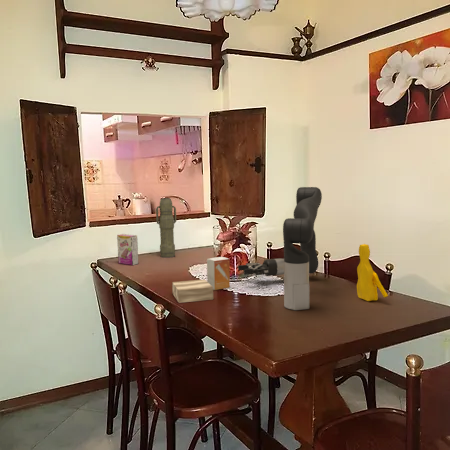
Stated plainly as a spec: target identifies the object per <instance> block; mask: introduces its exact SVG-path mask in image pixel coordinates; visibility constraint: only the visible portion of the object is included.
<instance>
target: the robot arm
mask: <svg viewBox="0 0 450 450" xmlns="http://www.w3.org/2000/svg"><path fill="white" fill-rule="evenodd" d="M295 194H296V195H295V198H296V199H295V200H296V205H295V208H294V210H293V218H286V219H285V220H283V224H282V236H283V237H282V238H283V258H269V259H264V260H263V263H260V262H247V263H245V264H241V265H238V266H237V270H238V271H243V274H244V275H255V276H261V275H265V276H266V277H273V276H282V275H283V302H284V303H283V304H284V305H283V306H284V308H285V309H289V310H292V311H301V310H309V309H310V275H311V274H315V273H316V272H317V271H318V269H319V257H318V253H317V249H316V248H317V247H316V245H317V244H316V242H317V240H316V239H317V238H316V231H315V229H314V228H315V223H316V220H317V219H316V218H317V215H318V210H319V207H321V203H322V199H323V197H322V196H323V194H322V191H321V189H320V188H319V187H316V186H300V187H297V190H296V193H295ZM294 244H299V245H300V247H299V248H300V249H298V248H297V247H296V246H295V245H294Z"/></svg>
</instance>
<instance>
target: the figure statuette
mask: <svg viewBox="0 0 450 450" xmlns="http://www.w3.org/2000/svg"><path fill="white" fill-rule="evenodd" d="M358 255H359V259H360V260H359V264H358V266H356V267H357V268H356V271H357V278H358V279H357V283H356V292H357V293H356V294H357V297H358V299H362V300H363V301H367V302H371V301H378V299H379V295H378V291H380V293H381V296H382V297H383V298H387V297H389V294H388V293H387V292H386V290H385V288H384V286H383V285H382V283H381V281H380V279H379V276H378V274H377V273H376V272H375V271H374V270H373V267H372V265H371V263H370V255H371V249H370V245H369V244H366V243H363V244H359V248H358Z"/></svg>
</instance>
